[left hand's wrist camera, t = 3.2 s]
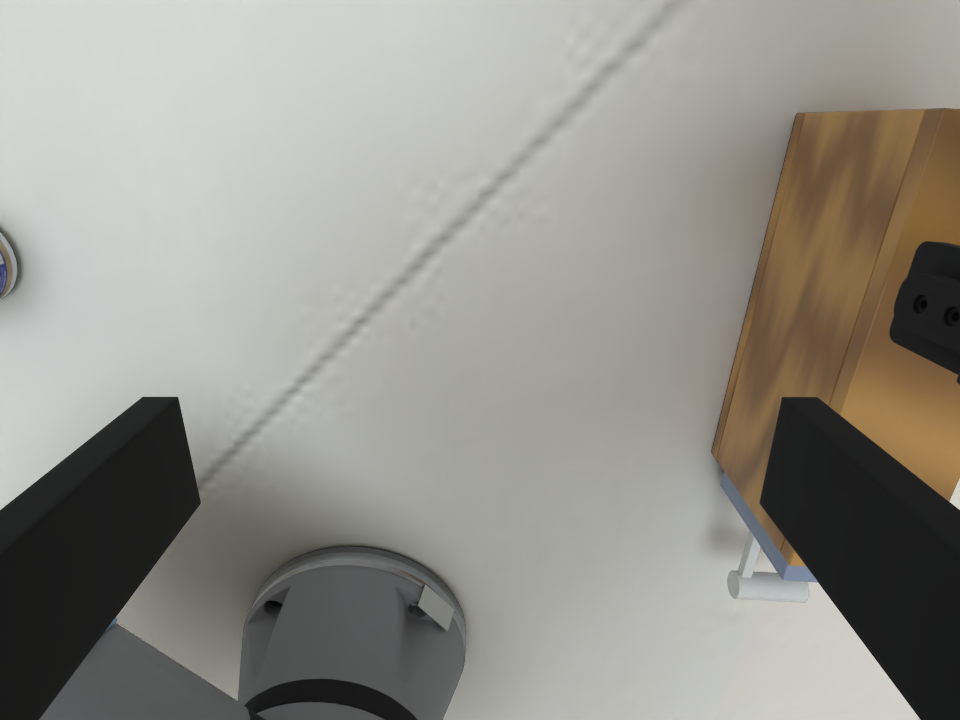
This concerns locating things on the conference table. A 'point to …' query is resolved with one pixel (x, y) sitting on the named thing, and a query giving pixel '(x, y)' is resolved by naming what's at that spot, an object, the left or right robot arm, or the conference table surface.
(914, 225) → the tan wooden box
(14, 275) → the pill bottle
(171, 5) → the conference table surface
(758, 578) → the drawer
